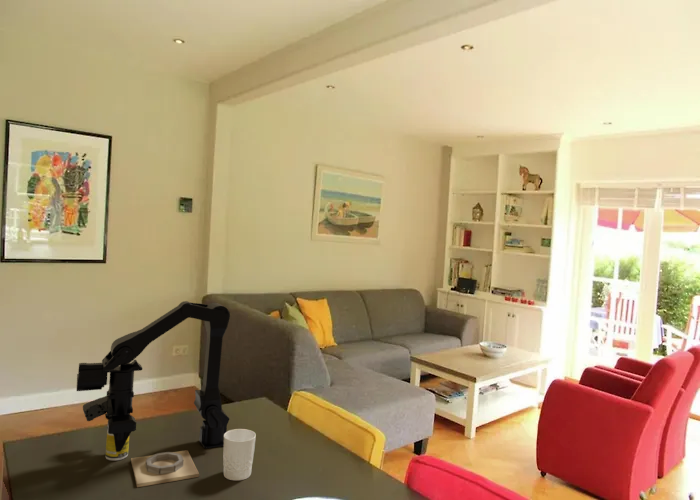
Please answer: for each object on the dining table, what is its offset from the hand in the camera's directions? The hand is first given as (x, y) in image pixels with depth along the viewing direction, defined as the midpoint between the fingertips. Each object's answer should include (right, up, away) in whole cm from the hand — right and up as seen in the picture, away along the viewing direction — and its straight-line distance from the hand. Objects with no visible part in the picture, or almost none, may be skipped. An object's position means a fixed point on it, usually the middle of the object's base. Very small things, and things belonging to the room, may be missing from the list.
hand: (117, 446), depth 128 cm
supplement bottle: (0, -3, 0) cm, 3 cm away
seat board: (+14, -4, -5) cm, 15 cm away
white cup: (+32, -5, -5) cm, 33 cm away
